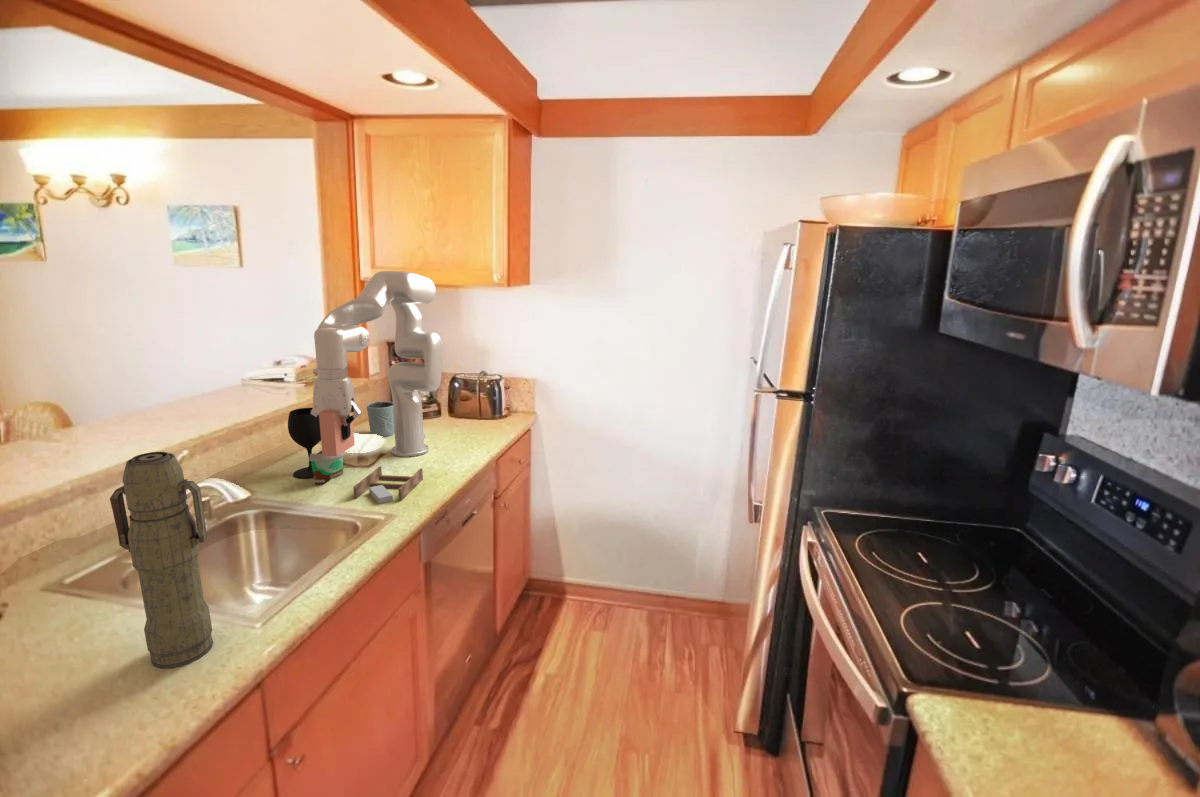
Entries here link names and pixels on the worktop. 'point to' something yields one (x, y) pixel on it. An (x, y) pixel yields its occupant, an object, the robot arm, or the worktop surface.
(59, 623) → the worktop surface
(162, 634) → the thermos
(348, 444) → the pink slab
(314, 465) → the food container
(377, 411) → the blue-grey embossed cup
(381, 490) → the offcut upper
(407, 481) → the rack
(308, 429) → the wine glass
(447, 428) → the worktop surface
